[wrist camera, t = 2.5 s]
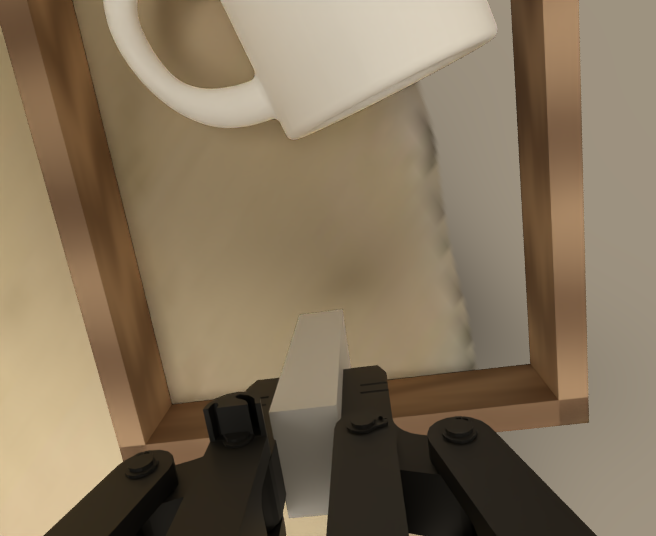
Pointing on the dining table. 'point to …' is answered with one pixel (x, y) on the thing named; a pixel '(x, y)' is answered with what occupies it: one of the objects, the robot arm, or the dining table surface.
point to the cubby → (405, 394)
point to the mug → (313, 57)
